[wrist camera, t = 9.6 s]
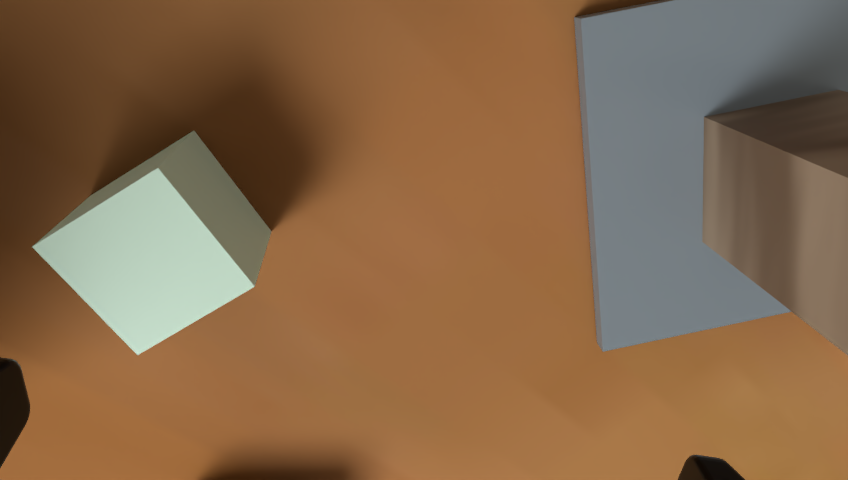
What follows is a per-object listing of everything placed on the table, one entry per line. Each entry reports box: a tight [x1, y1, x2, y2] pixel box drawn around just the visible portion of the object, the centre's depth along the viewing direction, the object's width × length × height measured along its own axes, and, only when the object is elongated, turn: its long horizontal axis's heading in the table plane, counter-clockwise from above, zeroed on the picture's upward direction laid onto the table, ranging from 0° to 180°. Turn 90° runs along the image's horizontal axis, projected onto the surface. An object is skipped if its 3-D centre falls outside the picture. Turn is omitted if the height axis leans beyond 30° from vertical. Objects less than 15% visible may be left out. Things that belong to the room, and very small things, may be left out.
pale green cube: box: [32, 131, 271, 355], centre depth 18 cm, size 4×4×4 cm
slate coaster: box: [574, 0, 848, 351], centre depth 21 cm, size 12×12×1 cm
